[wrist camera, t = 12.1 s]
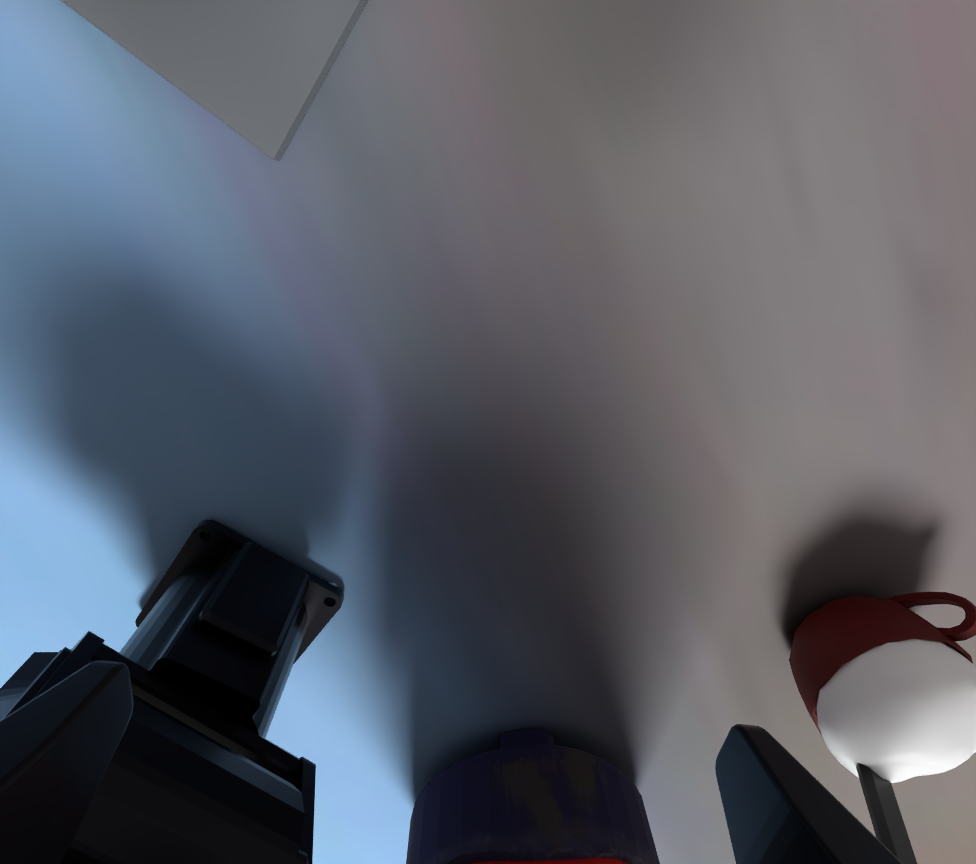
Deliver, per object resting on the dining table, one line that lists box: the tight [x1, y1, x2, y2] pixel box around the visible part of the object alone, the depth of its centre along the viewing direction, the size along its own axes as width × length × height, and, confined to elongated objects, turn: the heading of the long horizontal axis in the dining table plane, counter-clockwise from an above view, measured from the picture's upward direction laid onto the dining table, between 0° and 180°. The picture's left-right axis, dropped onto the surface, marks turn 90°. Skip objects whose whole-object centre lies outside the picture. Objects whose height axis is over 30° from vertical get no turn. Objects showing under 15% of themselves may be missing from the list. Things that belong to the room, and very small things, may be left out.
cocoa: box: [789, 592, 976, 864], centre depth 20 cm, size 10×6×12 cm, turn 122°
